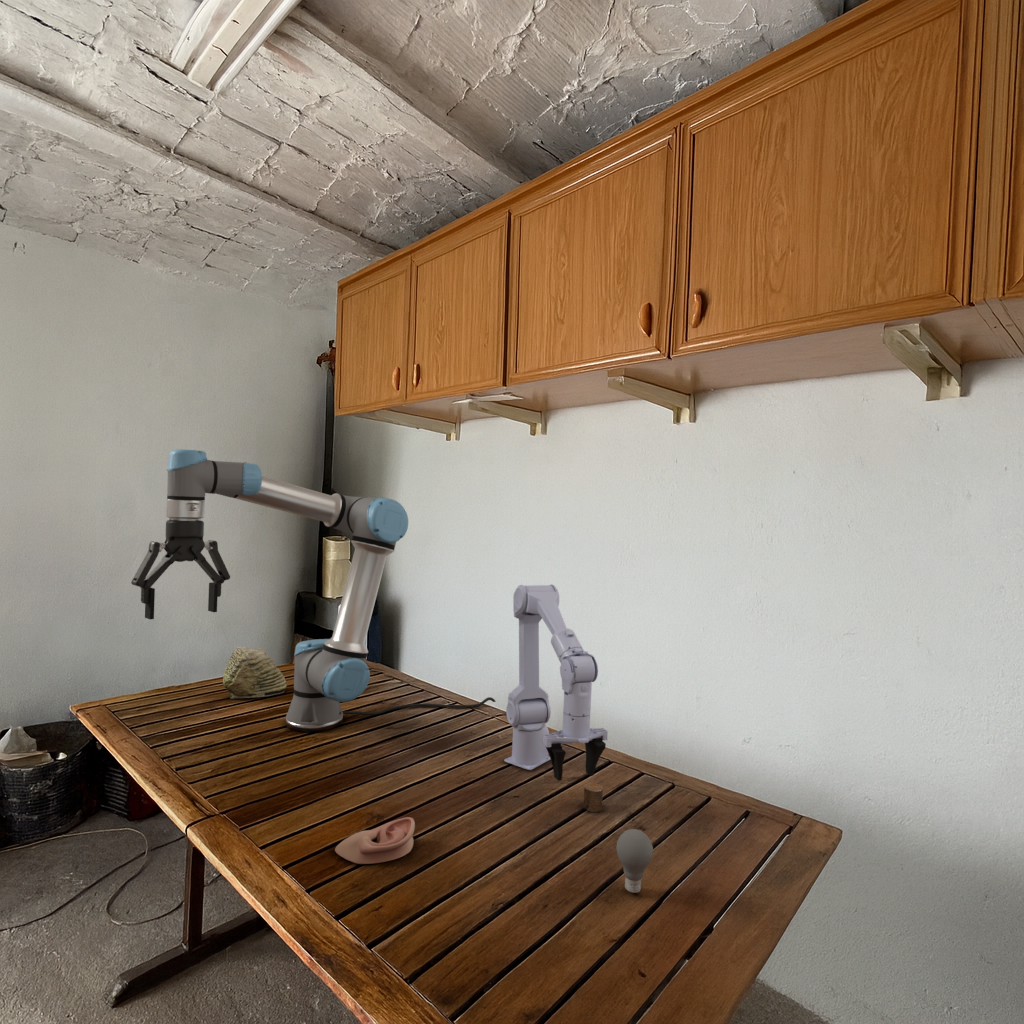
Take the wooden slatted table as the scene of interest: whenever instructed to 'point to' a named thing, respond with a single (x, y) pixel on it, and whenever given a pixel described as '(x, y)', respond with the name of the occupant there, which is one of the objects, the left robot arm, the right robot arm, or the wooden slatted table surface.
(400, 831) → the anatomical model
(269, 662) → the fossil
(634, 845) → the light bulb
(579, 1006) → the wooden slatted table surface
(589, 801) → the tin
